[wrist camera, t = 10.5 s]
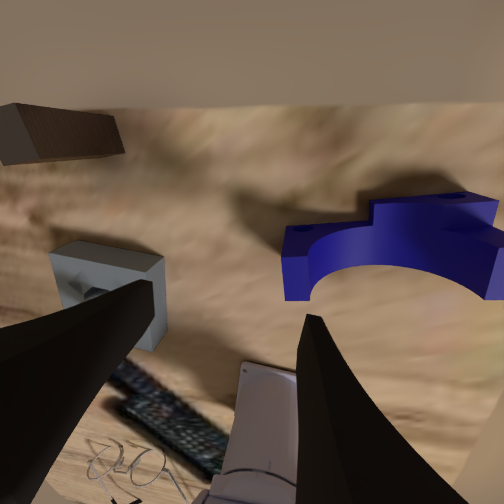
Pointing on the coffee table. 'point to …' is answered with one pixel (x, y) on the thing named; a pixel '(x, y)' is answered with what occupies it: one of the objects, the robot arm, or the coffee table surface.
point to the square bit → (55, 135)
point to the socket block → (110, 278)
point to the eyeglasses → (131, 467)
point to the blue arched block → (403, 243)
